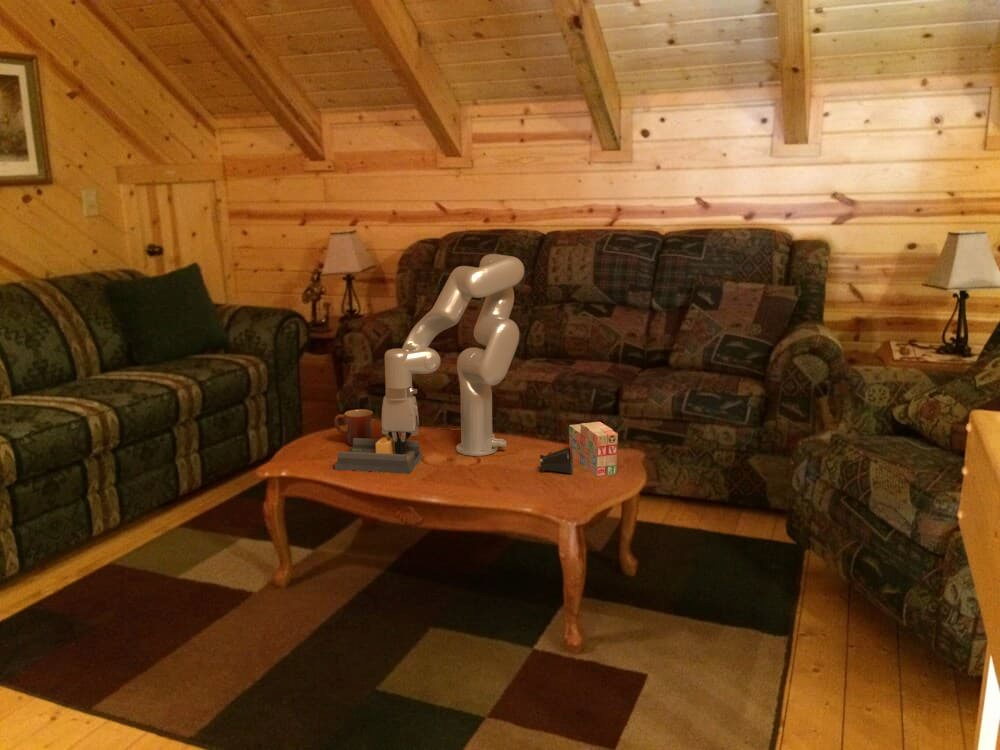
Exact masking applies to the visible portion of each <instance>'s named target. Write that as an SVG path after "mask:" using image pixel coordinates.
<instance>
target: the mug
mask: <svg viewBox="0 0 1000 750" xmlns="http://www.w3.org/2000/svg"><path fill="white" fill-rule="evenodd" d="M373 414H374V412H373V410H370V409H361V408H360V409H351V410H347V411H345V412H344V414H338V415H336V416H335V418H334V427H335V428H336V430H337V432H339V433H340V434H341V435H344V436H347V441H348V442H347V443H348V444H349V446H352V447H353V439H354V438H364V439H373V435H372V434H373V432H372V418H373ZM339 419H344V420H345V421H346V425H347V427H346V430H343V429H342V428H341V427H340V425H339Z"/></svg>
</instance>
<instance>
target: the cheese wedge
mask: <svg viewBox="0 0 1000 750" xmlns="http://www.w3.org/2000/svg"><path fill="white" fill-rule="evenodd" d="M379 439H380V440H379V441H378V442H377V443H376V453H383V454H396V451H395V442H394V441H393V439H392V438H391V437H390V436H389V435H386V434H385V435H384V436H382V437H380V438H379Z"/></svg>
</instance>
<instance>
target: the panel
mask: <svg viewBox="0 0 1000 750" xmlns="http://www.w3.org/2000/svg"><path fill="white" fill-rule="evenodd" d="M347 452H362V453H376V449H364V448H353V447H351V448H350V449H349V450H348V451H347ZM396 454H397V453H396ZM403 455H407V466H406V467H390V466H370V465H351V464H338V460H337V461H336V462H335V463H334V470H335V471H347V470H359V471H358V472H366V471H374V472H373V473H385V472H390V473H389V474H404V473H406V474H407V475H408V474H409V475H410V474H411V473H412V472H413V471H414V470H415V468H416V467H415V466H417V465H418V464H419V463H420V462H421V461H422V460H423V451H419V452H418V453H415V451H406V452H405V453H404V454H403ZM420 460H421V461H420ZM419 461H420V462H419ZM376 471H377V472H376Z"/></svg>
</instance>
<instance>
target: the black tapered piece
mask: <svg viewBox="0 0 1000 750" xmlns="http://www.w3.org/2000/svg"><path fill="white" fill-rule="evenodd" d="M573 459H574V458H573V457H572V452H571V449H570V448H569V446H568V447H567V446H566V447H564V448H562V449H559V450H550V451H548V453H547V455H544V454H540V455H539V460H540V463H539V464H540V468H541V472H542V473H545V472H546V471H550V472H556V473H562V474H568V475H572V474H573V473H574V460H573Z"/></svg>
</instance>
